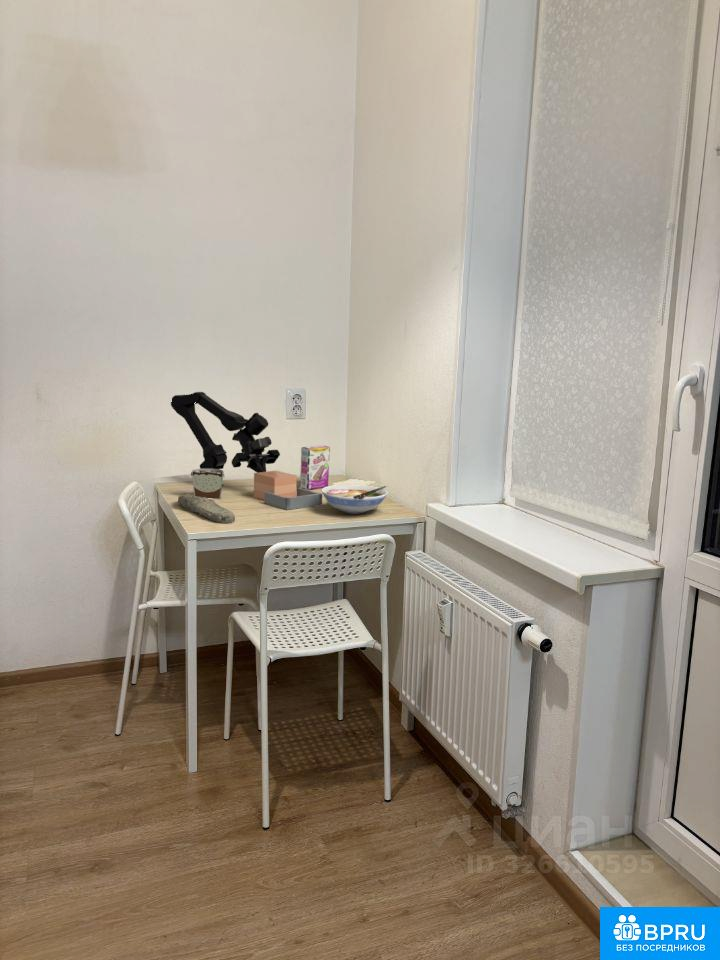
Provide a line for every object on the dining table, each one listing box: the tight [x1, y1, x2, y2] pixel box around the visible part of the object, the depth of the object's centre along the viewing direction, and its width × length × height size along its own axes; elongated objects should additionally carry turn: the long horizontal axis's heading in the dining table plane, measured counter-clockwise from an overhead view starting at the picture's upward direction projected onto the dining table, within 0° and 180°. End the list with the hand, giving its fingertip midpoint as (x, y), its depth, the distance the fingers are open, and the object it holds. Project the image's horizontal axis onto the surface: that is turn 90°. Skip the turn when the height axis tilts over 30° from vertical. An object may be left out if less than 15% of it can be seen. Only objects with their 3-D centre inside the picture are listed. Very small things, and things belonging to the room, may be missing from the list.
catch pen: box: [264, 487, 323, 511], centre depth 274 cm, size 13×15×4 cm
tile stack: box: [253, 470, 297, 501], centre depth 282 cm, size 12×10×9 cm
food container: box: [190, 468, 226, 500], centre depth 281 cm, size 12×6×10 cm, turn 84°
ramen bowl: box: [320, 484, 389, 515], centre depth 265 cm, size 25×23×8 cm
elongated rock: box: [177, 493, 236, 524], centre depth 257 cm, size 35×5×10 cm
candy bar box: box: [299, 445, 331, 491], centre depth 304 cm, size 11×5×16 cm, turn 136°
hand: (265, 476), depth 286 cm, fingers closed
